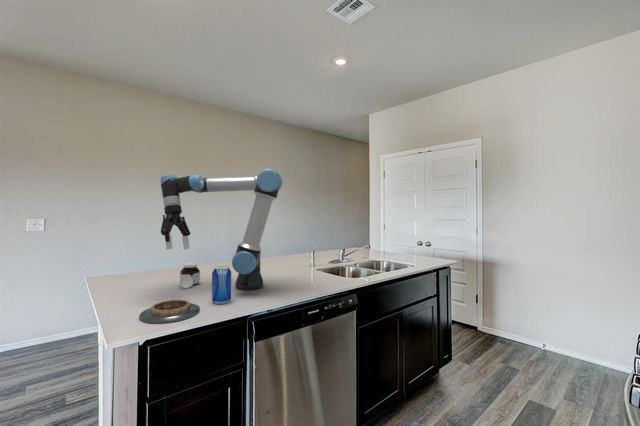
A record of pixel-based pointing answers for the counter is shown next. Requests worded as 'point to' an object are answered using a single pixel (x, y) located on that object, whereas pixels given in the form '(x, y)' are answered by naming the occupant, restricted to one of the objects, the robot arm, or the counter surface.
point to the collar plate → (168, 319)
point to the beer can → (221, 285)
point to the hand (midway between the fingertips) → (178, 248)
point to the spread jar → (189, 275)
